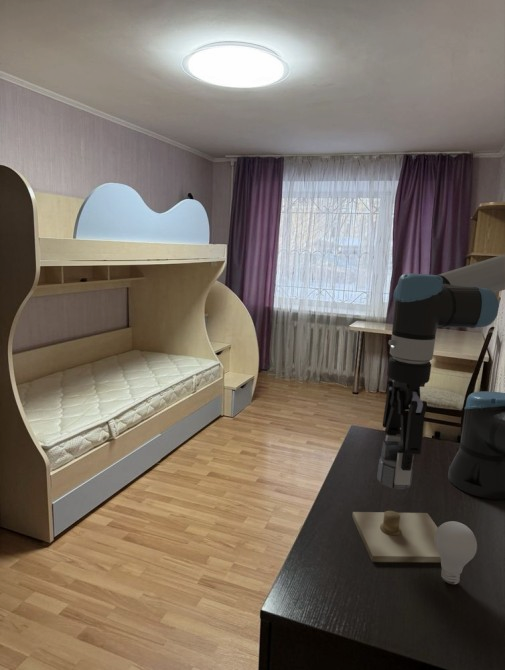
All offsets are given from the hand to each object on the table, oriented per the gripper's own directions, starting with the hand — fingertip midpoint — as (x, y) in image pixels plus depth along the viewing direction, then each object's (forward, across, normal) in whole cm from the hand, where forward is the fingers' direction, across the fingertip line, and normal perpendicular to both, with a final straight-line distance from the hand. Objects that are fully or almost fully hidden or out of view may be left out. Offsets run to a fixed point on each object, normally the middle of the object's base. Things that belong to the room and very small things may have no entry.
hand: (395, 474), depth 90 cm
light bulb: (+13, +13, +6) cm, 20 cm away
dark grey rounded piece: (+1, 0, 0) cm, 1 cm away
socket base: (+13, +1, +2) cm, 13 cm away
